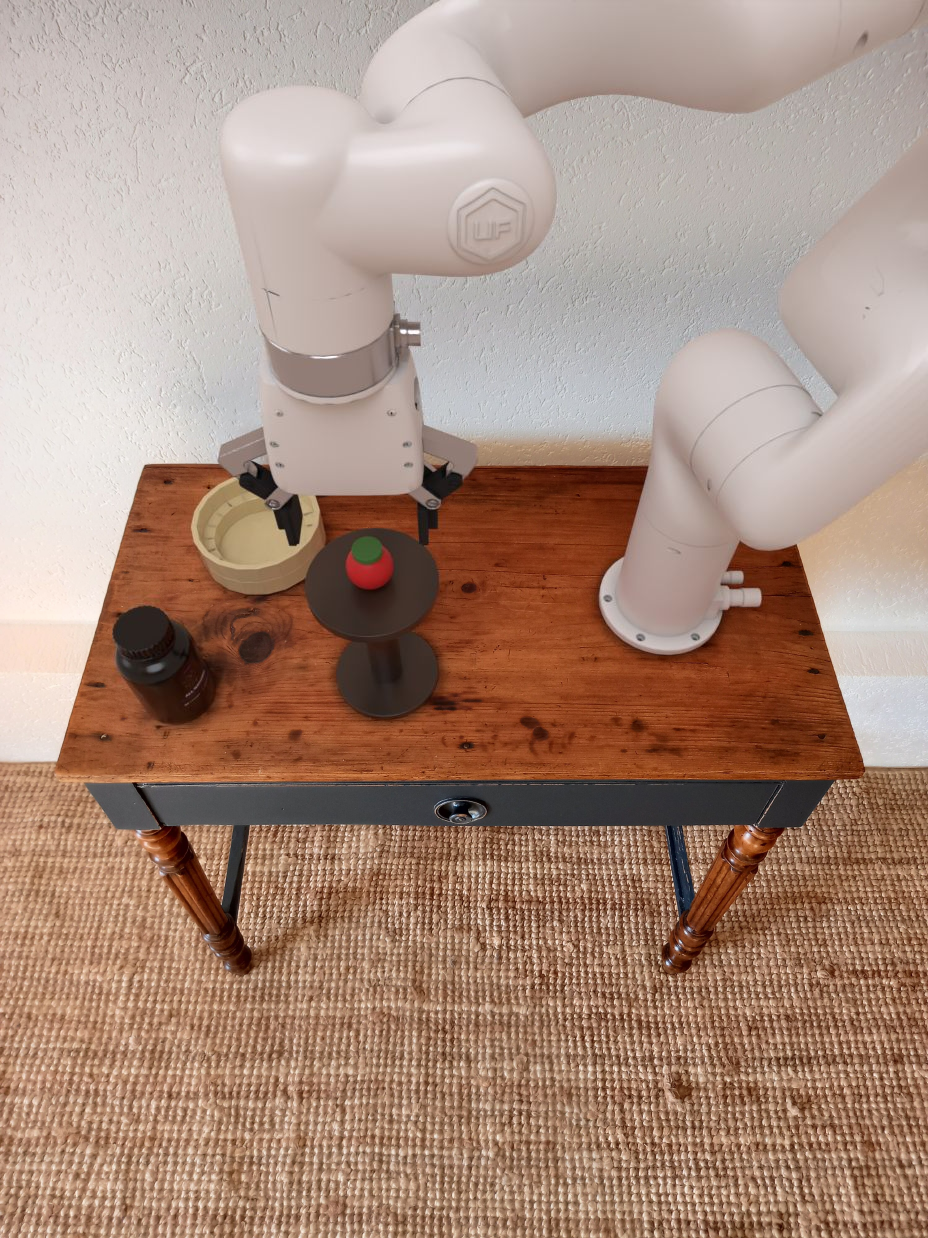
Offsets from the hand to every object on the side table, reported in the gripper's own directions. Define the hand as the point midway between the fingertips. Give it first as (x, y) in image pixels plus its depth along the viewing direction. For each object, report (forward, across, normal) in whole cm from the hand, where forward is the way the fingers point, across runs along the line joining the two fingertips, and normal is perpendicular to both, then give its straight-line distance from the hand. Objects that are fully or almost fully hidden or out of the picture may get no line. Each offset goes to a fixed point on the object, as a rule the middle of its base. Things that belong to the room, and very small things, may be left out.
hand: (360, 531), depth 60 cm
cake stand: (+22, 0, 0) cm, 22 cm away
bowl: (+22, +14, -16) cm, 31 cm away
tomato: (+6, 0, 0) cm, 6 cm away
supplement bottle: (+23, +20, +2) cm, 30 cm away
